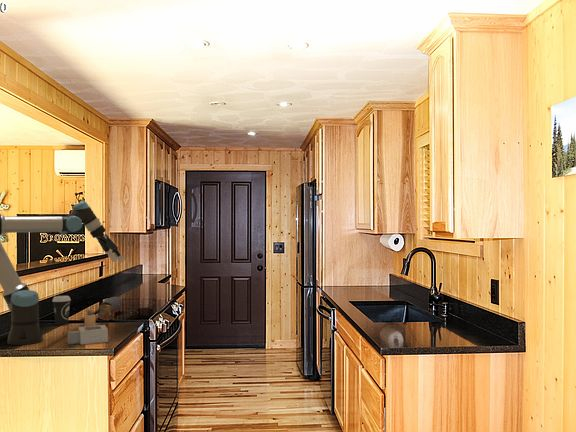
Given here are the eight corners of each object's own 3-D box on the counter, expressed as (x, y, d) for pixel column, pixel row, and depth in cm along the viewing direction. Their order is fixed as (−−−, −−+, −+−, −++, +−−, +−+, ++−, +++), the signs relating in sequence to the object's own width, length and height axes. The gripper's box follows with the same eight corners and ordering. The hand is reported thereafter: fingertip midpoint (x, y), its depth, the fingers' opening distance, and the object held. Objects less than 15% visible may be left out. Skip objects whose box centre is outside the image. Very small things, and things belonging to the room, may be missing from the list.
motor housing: (107, 342, 259) (107, 329, 259) (68, 345, 252) (68, 332, 252) (104, 337, 270) (104, 324, 270) (67, 340, 263) (67, 328, 263)
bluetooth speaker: (114, 318, 321) (114, 300, 321) (97, 318, 320) (97, 301, 321) (123, 311, 344) (123, 295, 344) (108, 311, 343) (107, 295, 343)
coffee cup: (66, 321, 312) (66, 295, 312) (74, 324, 305) (73, 296, 305) (49, 324, 305) (49, 296, 305) (56, 326, 298) (56, 298, 298)
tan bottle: (89, 336, 271) (89, 311, 271) (82, 335, 274) (82, 310, 274) (97, 334, 275) (97, 309, 275) (90, 333, 278) (90, 309, 278)
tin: (97, 318, 321) (97, 303, 321) (102, 317, 323) (102, 303, 323) (110, 321, 310) (110, 306, 310) (115, 320, 313) (115, 305, 313)
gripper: (107, 223, 283) (131, 256, 289) (95, 225, 304) (117, 256, 310) (95, 231, 279) (119, 265, 285) (83, 233, 300) (106, 264, 306)
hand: (118, 260), depth 297 cm, fingers open, 13 cm apart
